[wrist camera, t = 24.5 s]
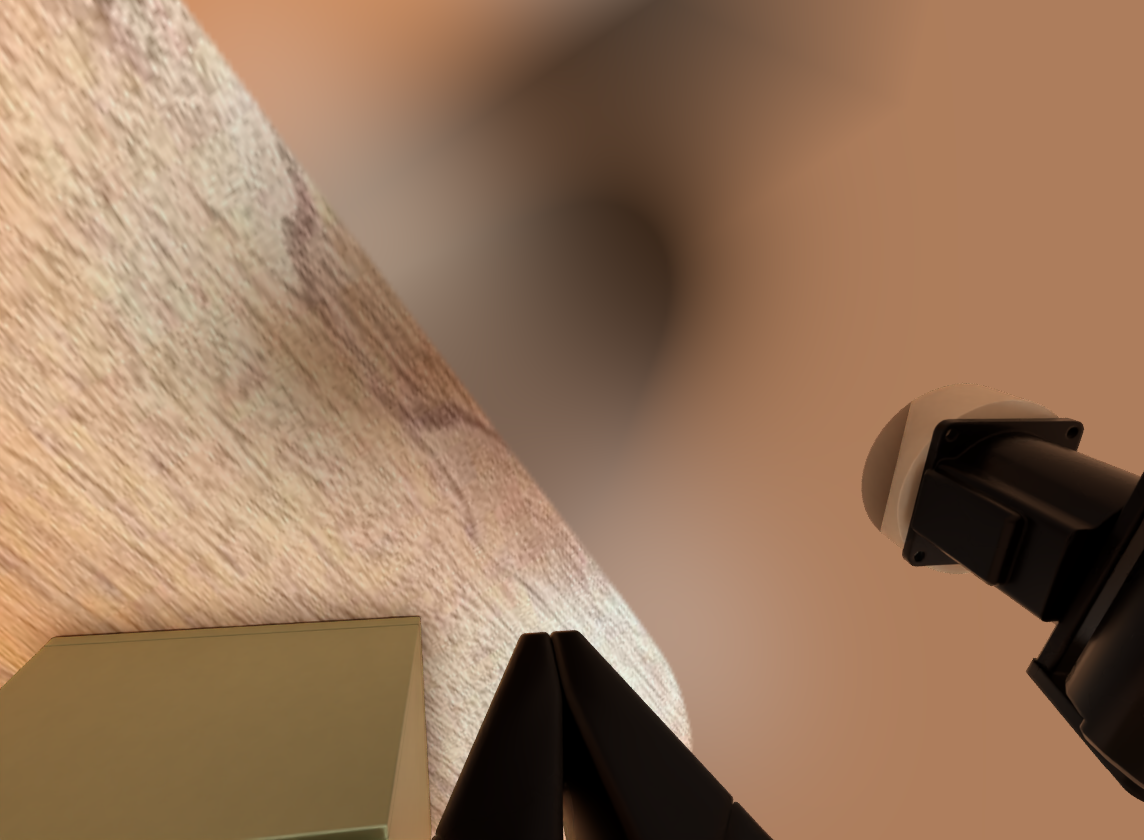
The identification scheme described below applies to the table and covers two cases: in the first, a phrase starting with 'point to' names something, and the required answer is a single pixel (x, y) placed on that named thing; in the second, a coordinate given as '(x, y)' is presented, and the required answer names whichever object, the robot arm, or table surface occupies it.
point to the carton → (219, 735)
